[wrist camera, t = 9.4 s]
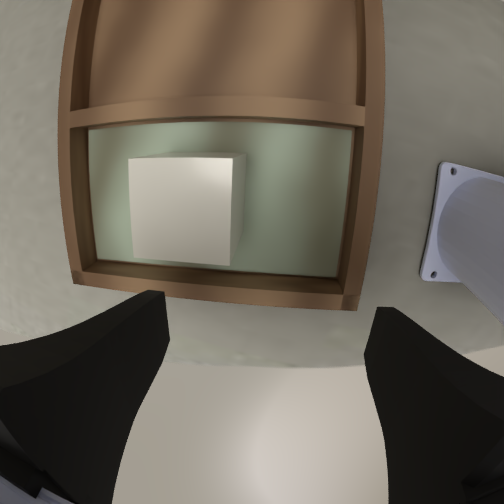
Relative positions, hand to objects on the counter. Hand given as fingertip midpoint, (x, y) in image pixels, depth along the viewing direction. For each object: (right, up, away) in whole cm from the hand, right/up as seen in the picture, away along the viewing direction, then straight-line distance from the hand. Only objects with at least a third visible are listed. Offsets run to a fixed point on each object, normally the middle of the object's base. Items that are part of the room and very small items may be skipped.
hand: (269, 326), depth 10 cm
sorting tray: (-3, +11, +6) cm, 13 cm away
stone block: (-3, +6, +7) cm, 10 cm away
